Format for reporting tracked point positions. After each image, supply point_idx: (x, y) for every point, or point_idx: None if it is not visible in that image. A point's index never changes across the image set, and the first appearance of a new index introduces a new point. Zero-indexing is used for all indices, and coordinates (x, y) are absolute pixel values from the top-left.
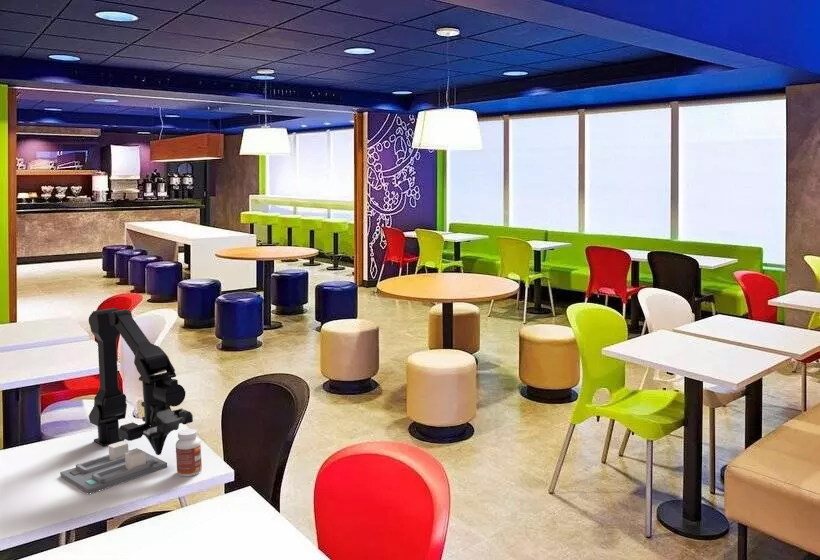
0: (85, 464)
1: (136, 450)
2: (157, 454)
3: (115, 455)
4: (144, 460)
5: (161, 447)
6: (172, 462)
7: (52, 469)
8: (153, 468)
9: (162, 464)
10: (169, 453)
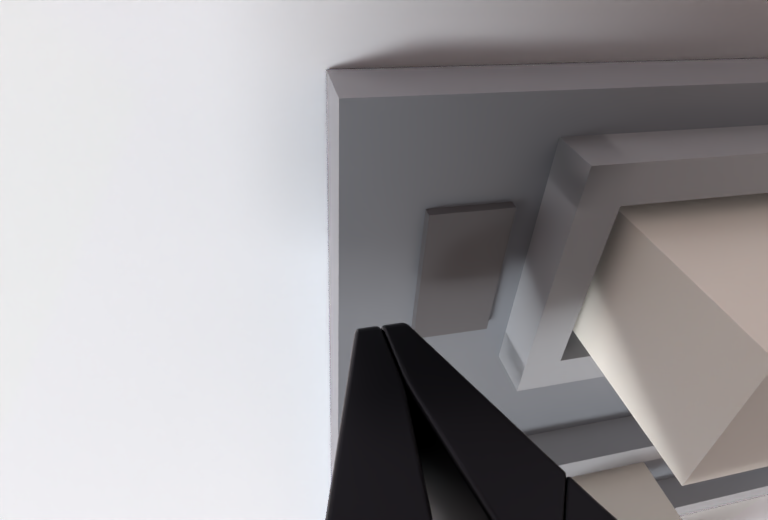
0: (754, 476)
1: (742, 461)
2: (406, 339)
3: (656, 498)
4: (682, 249)
5: (384, 420)
6: (178, 178)
7: (736, 507)
8: (577, 82)
9: (429, 93)
10: (100, 427)
